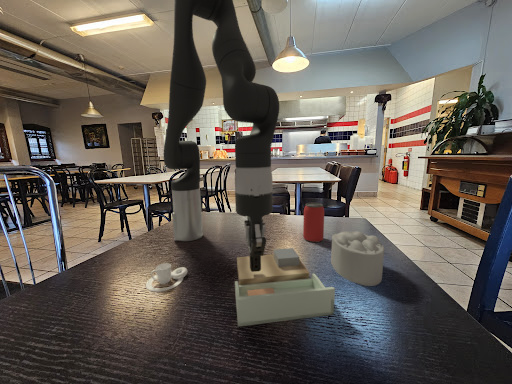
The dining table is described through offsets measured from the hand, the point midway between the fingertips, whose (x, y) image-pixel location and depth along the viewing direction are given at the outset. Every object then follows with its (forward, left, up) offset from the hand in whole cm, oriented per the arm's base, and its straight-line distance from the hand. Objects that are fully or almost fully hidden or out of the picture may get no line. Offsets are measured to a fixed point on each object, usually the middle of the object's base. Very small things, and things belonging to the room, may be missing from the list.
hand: (255, 269), depth 46 cm
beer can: (+23, +24, -4) cm, 33 cm away
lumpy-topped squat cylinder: (+25, +3, -4) cm, 26 cm away
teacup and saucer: (-18, +4, -5) cm, 19 cm away
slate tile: (+8, +5, -1) cm, 9 cm away
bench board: (+4, +4, -4) cm, 7 cm away
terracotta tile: (0, -7, -1) cm, 7 cm away
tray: (+4, -6, -4) cm, 8 cm away
